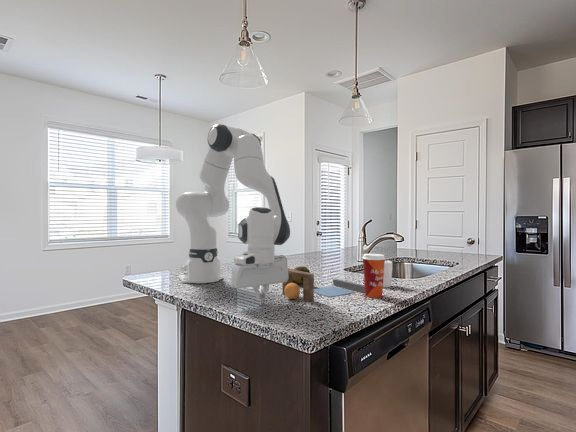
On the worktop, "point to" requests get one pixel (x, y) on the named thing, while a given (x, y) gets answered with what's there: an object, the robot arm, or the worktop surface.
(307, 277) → the bridge
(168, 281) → the worktop surface
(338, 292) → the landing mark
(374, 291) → the coffee cup
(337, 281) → the grey long bar
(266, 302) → the worktop surface
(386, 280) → the white cup
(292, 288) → the ball
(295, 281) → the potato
